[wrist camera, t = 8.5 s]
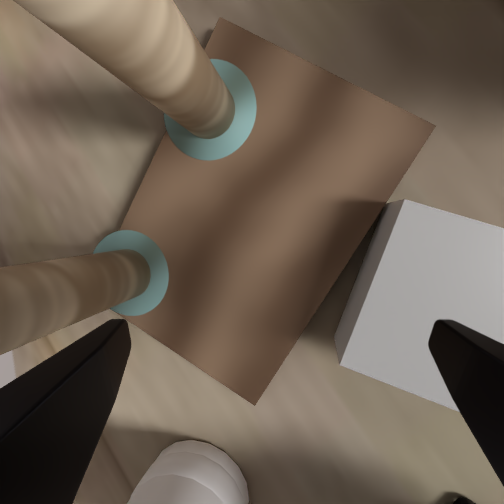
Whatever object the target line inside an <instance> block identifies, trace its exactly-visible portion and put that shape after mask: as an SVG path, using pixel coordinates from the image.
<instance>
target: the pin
mask: <svg viewBox="0 0 504 504" xmlns="http://www.w3.org/2000/svg"><path fill="white" fill-rule="evenodd" d="M150 278H151V273H150V268H149V265H148V263H147V261H146V259H145V258H144V257H143V256H142V255H141V254H140V253H138V252H136V251H134V250H131V249H122V250H116V251H109V252H102V253H95V254H88V255H81V256H74V257H67V258H60V259H54V260H47V261H40V262H33V263H26V264H19V265H12V266H5V267H0V355H1V354H4V353H6V352H9V351H11V350H13V349H16V348H18V347H20V346H23V345H25V344H27V343H30V342H32V341H34V340H37V339H39V338H41V337H44V336H46V335H48V334H51V333H53V332H55V331H58V330H60V329H62V328H65V327H67V326H69V325H72V324H74V323H76V322H79V321H81V320H83V319H86V318H88V317H90V316H93V315H95V314H97V313H100V312H102V311H104V310H107V309H109V308H111V307H114V306H116V305H118V304H121V303H123V302H126V301H128V300H130V299H133V298H135V297H137V296H139V295H141V294H142V293H144V292H145V290H146V289H147V287H148V286H149V283H150Z"/></svg>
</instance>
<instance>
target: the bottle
mask: <svg viewBox="0 0 504 504" xmlns="http://www.w3.org/2000/svg"><path fill="white" fill-rule="evenodd" d="M248 503H249V496H248V488H247V482H246V480H245V478H244V476H243V474H242V472H241V470H240V468H239V466H238V465H237V464H236V463H235V462H234V461H233V460H232V459H231V458H230V457H229V456H228V455H227V454H226V453H225V452H223V451H222V450H220V449H218V448H216V447H215V446H213V445H211V444H209V443H205V442H200V441H195V440H187V441H181V442H175V443H174V444H172V445H170V446H169V447H167V448H165V449H164V450H162V452H161V453H160V455H159V456H158V457H157V459H156V460H155V462H154V463H152V465H151V466H150V468H149V469H148V470H147V472H146V473H145V475H144V476H143V478H142V479H141V480H140V482H139V483H138V485H137V486H136V488H135V490H134V491H133V493H132V495H131V497H130V500H129V501H128V503H127V504H248Z"/></svg>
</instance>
